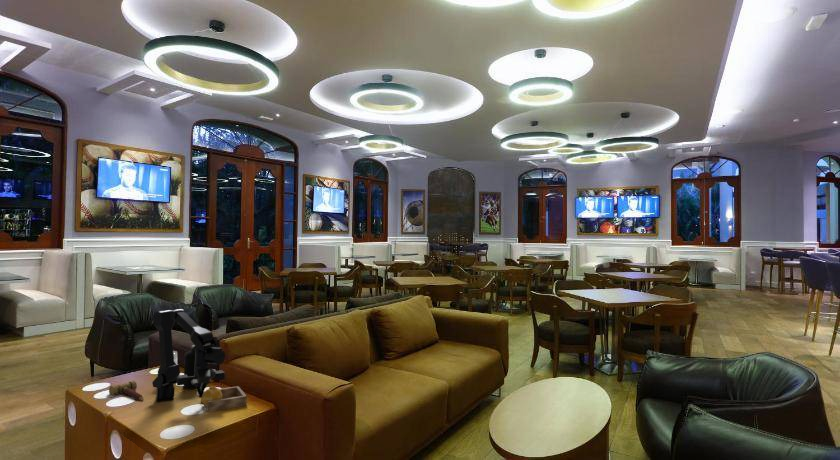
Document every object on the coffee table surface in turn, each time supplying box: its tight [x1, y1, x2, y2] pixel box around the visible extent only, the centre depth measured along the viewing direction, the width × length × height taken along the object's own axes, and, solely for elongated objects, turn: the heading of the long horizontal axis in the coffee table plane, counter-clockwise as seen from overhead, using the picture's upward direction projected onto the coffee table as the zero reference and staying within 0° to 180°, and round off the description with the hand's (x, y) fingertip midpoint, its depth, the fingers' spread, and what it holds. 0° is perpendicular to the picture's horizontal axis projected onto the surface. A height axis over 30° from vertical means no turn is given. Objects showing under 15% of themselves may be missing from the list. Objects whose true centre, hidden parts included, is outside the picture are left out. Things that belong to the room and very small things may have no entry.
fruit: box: [200, 385, 223, 407], centre depth 197 cm, size 8×8×8 cm
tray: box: [200, 385, 248, 413], centre depth 199 cm, size 16×15×4 cm
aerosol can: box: [182, 344, 201, 390], centre depth 219 cm, size 8×8×20 cm
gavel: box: [108, 380, 145, 402], centre depth 204 cm, size 21×5×10 cm
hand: (200, 397), depth 194 cm, fingers closed
